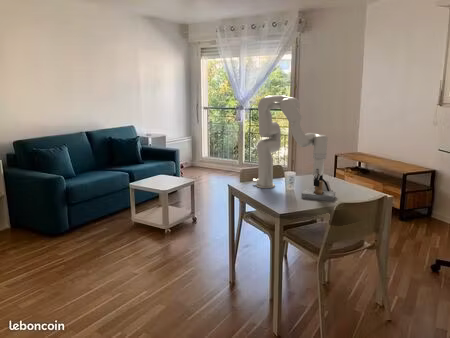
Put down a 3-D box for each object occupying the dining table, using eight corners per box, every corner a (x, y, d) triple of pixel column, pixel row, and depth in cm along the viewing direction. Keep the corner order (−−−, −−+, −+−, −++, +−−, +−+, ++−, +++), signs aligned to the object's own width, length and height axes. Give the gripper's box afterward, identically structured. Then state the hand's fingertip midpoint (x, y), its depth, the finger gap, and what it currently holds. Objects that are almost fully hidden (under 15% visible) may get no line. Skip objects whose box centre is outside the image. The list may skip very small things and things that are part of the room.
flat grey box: (301, 198, 222) (301, 193, 222) (305, 193, 231) (305, 189, 231) (332, 201, 215) (332, 196, 214) (335, 196, 224) (335, 191, 223)
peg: (314, 198, 222) (315, 181, 220) (315, 196, 226) (316, 180, 223) (321, 198, 220) (322, 182, 218) (322, 196, 224) (323, 180, 222)
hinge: (334, 193, 232) (329, 178, 229) (327, 196, 231) (322, 181, 228) (322, 186, 248) (317, 172, 245) (315, 188, 247) (311, 175, 244)
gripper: (316, 152, 227) (314, 180, 231) (309, 158, 212) (308, 187, 216) (329, 153, 224) (327, 181, 228) (323, 159, 208) (321, 188, 212)
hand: (318, 184), depth 222 cm, fingers open, 9 cm apart
